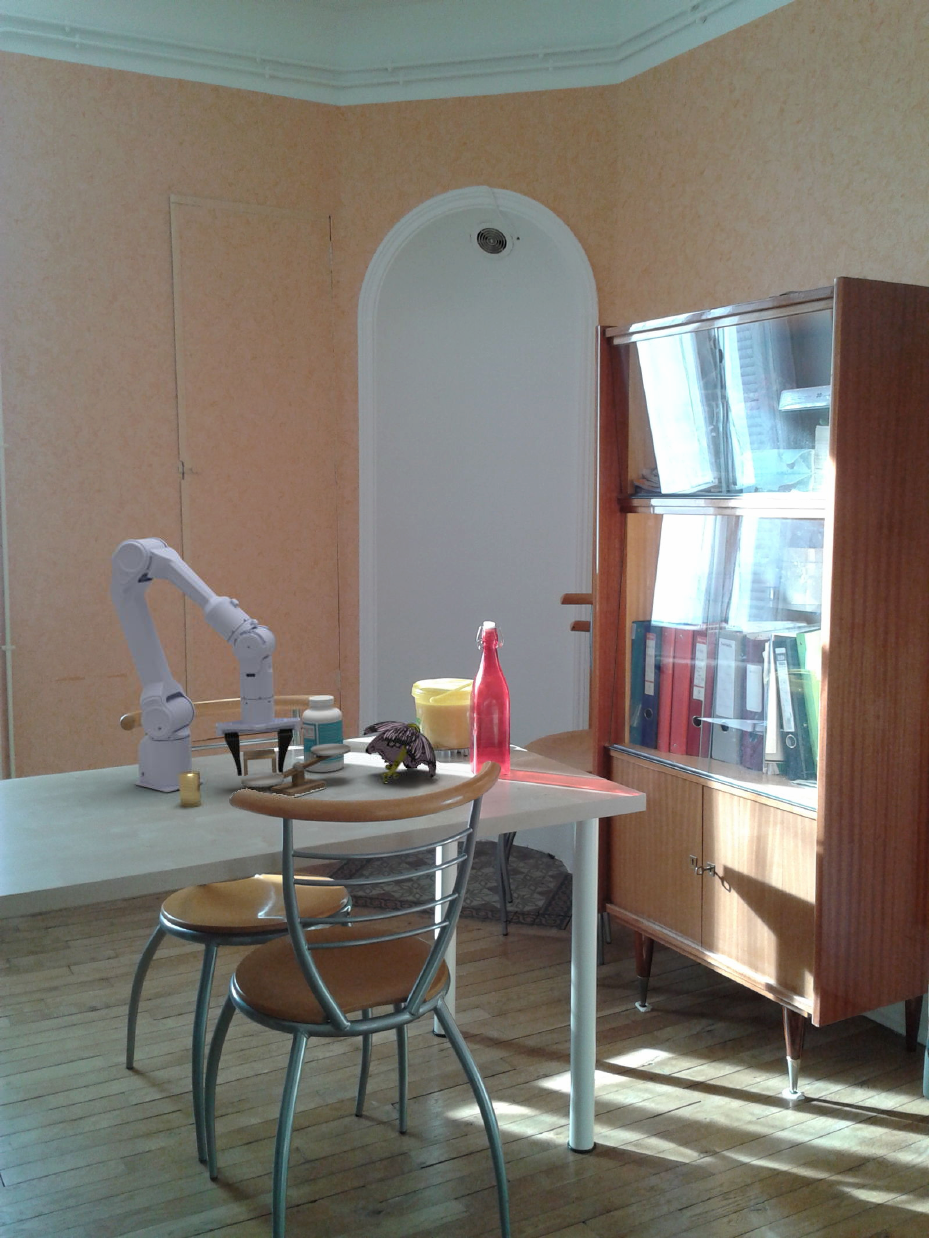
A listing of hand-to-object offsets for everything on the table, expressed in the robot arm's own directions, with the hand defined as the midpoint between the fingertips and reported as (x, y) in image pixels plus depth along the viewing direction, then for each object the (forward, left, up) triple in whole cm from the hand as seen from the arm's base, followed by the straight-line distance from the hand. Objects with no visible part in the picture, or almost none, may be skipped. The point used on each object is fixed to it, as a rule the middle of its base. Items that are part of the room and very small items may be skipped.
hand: (260, 772), depth 196 cm
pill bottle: (0, +16, -3) cm, 16 cm away
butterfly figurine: (+17, +19, -3) cm, 25 cm away
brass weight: (-1, -14, -3) cm, 14 cm away
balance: (+8, +2, -3) cm, 8 cm away
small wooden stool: (0, 0, -3) cm, 3 cm away
